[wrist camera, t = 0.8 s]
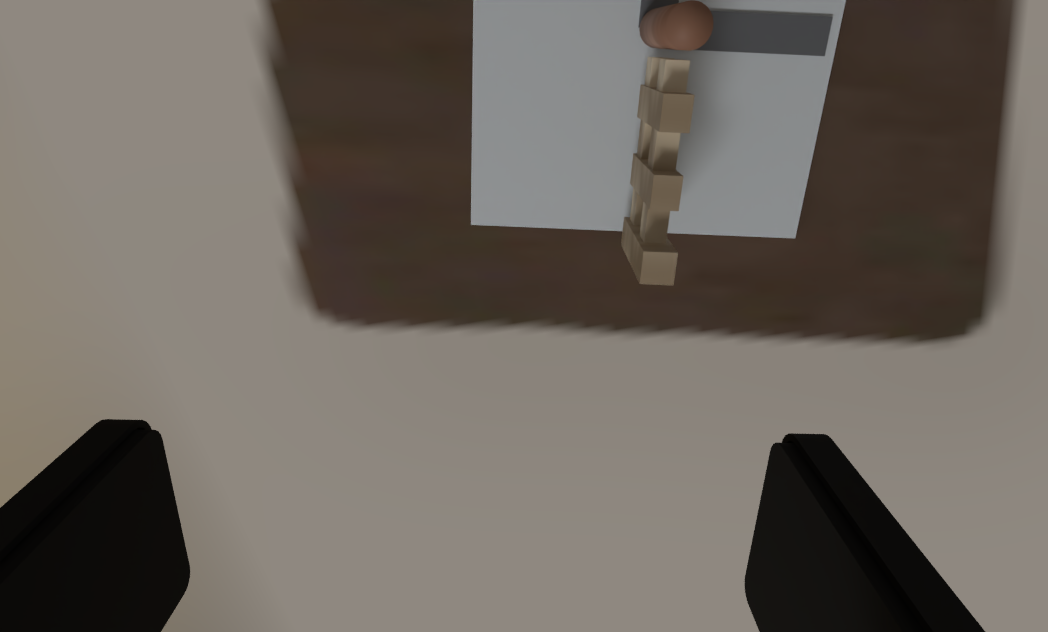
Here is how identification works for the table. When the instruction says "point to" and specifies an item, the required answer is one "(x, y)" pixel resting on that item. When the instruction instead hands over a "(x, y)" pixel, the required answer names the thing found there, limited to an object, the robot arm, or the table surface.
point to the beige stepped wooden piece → (661, 138)
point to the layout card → (613, 126)
